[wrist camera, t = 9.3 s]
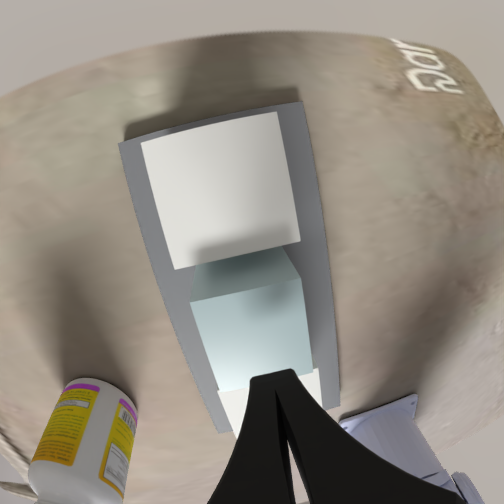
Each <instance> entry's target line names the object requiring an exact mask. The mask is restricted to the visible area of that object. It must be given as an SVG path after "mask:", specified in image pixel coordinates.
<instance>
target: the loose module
mask: <svg viewBox="0 0 504 504" xmlns="http://www.w3.org/2000/svg"><path fill="white" fill-rule="evenodd" d="M190 305H191V308H192V312H193V315H194V318H195V321H196V324H197V327H198V330H199V333H200V336H201V339H202V342H203V345H204V348H205V351H206V353H207V356H208V359H209V362H210V365H211V368H212V370H213V373H214V376H215V379H216V381H217V384H218V387H219V389H220V392H227V391H232V390H237V389H243V388H248V387H249V385H250V379H251V378H252V377H254V376H258V375H263V374H267V373H272V372H276V371H280V370H284V369H289V368H291V369H293V370H294V371H295V373H296V374H297V376H301V375H305V374H309V373H313V365H312V356H311V348H310V340H309V333H308V325H307V317H306V310H305V303H304V296H303V289H302V282H301V277H300V276H299V274H298V272H297V271H296V269H295V267H294V266H293V264H292V262H291V261H290V259H289V257H288V256H287V254H286V252H285V251H284V249H283V247H282V246H278V247H273V248H269V249H265V250H260V251H256V252H251V253H247V254H243V255H238V256H234V257H229V258H225V259H221V260H216V261H212V262H207V263H203V264H198V265H196V268H195V274H194V279H193V285H192V291H191V297H190Z"/></svg>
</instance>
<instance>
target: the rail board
mask: <svg viewBox="0 0 504 504" xmlns="http://www.w3.org/2000/svg"><path fill="white" fill-rule="evenodd" d="M118 146H119V150H120V154H121V159H122V163H123V167H124V171H125V175H126V179H127V183H128V187H129V191H130V194H131V198H132V202H133V205H134V209H135V213H136V216H137V220H138V223H139V227H140V230H141V233H142V237H143V240H144V243H145V246H146V250H147V253H148V256H149V259H150V262H151V265H152V268H153V272H154V275H155V278H156V281H157V283H158V286H159V289H160V292H161V295H162V298H163V301H164V304H165V306H166V309H167V312H168V315H169V317H170V320H171V323H172V325H173V328H174V331H175V333H176V336H177V339H178V341H179V344H180V346H181V349H182V351H183V354H184V356H185V359H186V361H187V364H188V366H189V369H190V371H191V373H192V376H193V378H194V381H195V383H196V385H197V388H198V390H199V392H200V394H201V397H202V399H203V401H204V403H205V406H206V408H207V410H208V412H209V415H210V417H211V419H212V421H213V423H214V425H215V427H216V430H217V432H218V433H225V432H231V431H234V434H235V436H236V438H238V436H239V433H240V429H241V426H242V422H243V418H244V414H245V411H246V406H247V401H248V395H249V387H248V388H243V389H237V390H232V391H227V392H220V389H219V387H218V384H217V381H216V379H215V376H214V373H213V370H212V368H211V365H210V362H209V359H208V356H207V353H206V351H205V348H204V345H203V342H202V339H201V336H200V333H199V330H198V327H197V324H196V321H195V318H194V315H193V312H192V308H191V305H190V297H191V291H192V285H193V279H194V274H195V268H196V265H198V264H203V263H207V262H212V261H216V260H221V259H225V258H229V257H234V256H238V255H243V254H247V253H251V252H256V251H260V250H265V249H269V248H273V247H278V246H282V247H283V249H284V251H285V252H286V254H287V256H288V257H289V259H290V261H291V262H292V264H293V266H294V267H295V269H296V271H297V272H298V274H299V276H300V277H301V282H302V289H303V296H304V303H305V310H306V317H307V325H308V333H309V340H310V348H311V356H312V365H313V373H309V374H305V375H301V376H298V378H299V379H300V381H301V382H302V384H303V385H304V387H305V388H306V389H307V391H308V392H309V393H310V394H311V396H312V397H313V398H314V399H315V400H316V402H317V403H318V404H319V405H320V406H321V407H322V408H323V409H324V410H328V409H331V408H335V407H338V406H340V387H339V369H338V354H337V340H336V328H335V316H334V306H333V295H332V286H331V277H330V268H329V260H328V252H327V244H326V236H325V229H324V222H323V215H322V208H321V201H320V195H319V189H318V183H317V177H316V171H315V165H314V159H313V154H312V148H311V143H310V137H309V132H308V127H307V122H306V117H305V112H304V107H303V103H302V101H300V102H293V103H286V104H280V105H273V106H267V107H261V108H256V109H250V110H245V111H240V112H235V113H230V114H225V115H221V116H216V117H212V118H207V119H203V120H199V121H194V122H190V123H186V124H183V125H179V126H175V127H171V128H167V129H164V130H160V131H157V132H153V133H150V134H146V135H143V136H140V137H136V138H133V139H130V140H127V141H124V142H121V143H118Z"/></svg>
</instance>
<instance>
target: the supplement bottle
mask: <svg viewBox="0 0 504 504" xmlns="http://www.w3.org/2000/svg"><path fill="white" fill-rule="evenodd" d="M137 420H138V416H137V411H136V408H135V406H134V404H133V403H132V401H131V400H130V399H129V397H128V396H127V395H126V394H124V393H123V392H122V391H121V390H119V389H118V388H116V387H115V386H113V385H111V384H109V383H107V382H104V381H101V380H98V379H94V378H79V379H75V380H73V381H71V382H70V383H68V384H67V386H66V387H65V388H64V390H63V392H62V394H61V396H60V398H59V400H58V402H57V404H56V406H55V408H54V411H53V413H52V415H51V417H50V419H49V422H48V424H47V426H46V428H45V431H44V433H43V435H42V438H41V440H40V442H39V445H38V447H37V450H36V452H35V454H34V457H33V459H32V461H31V464H30V467H29V470H28V480H29V483H30V485H31V487H32V489H33V490H34V492H35V493H36V494H37V495H38V500H37V502H35V503H34V504H123V499H124V492H125V486H126V480H127V474H128V468H129V463H130V458H131V453H132V447H133V443H134V438H135V433H136V427H137Z"/></svg>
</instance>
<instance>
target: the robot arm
mask: <svg viewBox="0 0 504 504" xmlns="http://www.w3.org/2000/svg"><path fill="white" fill-rule="evenodd" d="M417 401H418V396H417V394H412V395H410V396H407V397H405V398H402V399H400V400H397V401H395V402H392V403H389V404H387V405H384V406H381V407H379V408H376V409H373V410H370V411H367V412H365V413H362V414H359V415H356V416H353V417H350V418H346V419H343V420H341V421H340V422H339V424H338V423H337V422H336V421H334V420H333V419H332V418H331V417H330V416H329V415H328V414H327V412H326V411H325V410H324V409H323V408H322V407H321V406H320V405H319V404H318V403H317V402H316V400H315V399H314V398H313V397H312V396H311V394H310V393H309V392H308V391H307V389H306V388H305V387H304V385H303V384H302V382H301V381H300V379H299V378H298V376H297V374H296V373H295V371H294V370H293V369H291V368H289V369H284V370H280V371H276V372H272V373H267V374H263V375H258V376H254V377H252V378H251V379H250V385H249V395H248V401H247V406H246V411H245V414H244V418H243V422H242V426H241V429H240V433H239V436H238V438H237V441H236V444H235V447H234V450H233V453H232V455H231V458H230V460H229V462H228V465H227V467H226V469H225V471H224V473H223V475H222V477H221V479H220V481H219V483H218V485H217V487H216V489H215V491H214V492H213V494H212V496H211V498H210V499H209V501H208V503H207V504H296V502H295V496H294V490H293V481H292V473H291V465H290V457H289V449H288V443H289V445H290V448H291V451H292V454H293V457H294V459H295V462H296V465H297V468H298V470H299V473H300V476H301V478H302V481H303V484H304V487H305V489H306V492H307V495H308V498H309V502H310V504H485V503H484V502H483V500H482V498H481V496H480V495H479V493H478V491H477V489H476V488H475V486H474V485H473V483H472V482H471V480H470V479H469V477H468V476H467V475H466V474H465V473H459V472H455V473H454V474H452V475H451V476H452V478H453V480H454V482H455V484H454V483H453V481H452V479H451V478H450V476H449V474H448V473H447V471H446V470H445V469H443V467H442V466H441V464H440V462H439V461H438V459H437V457H436V456H435V454H434V452H433V451H432V449H431V447H430V446H429V444H428V443H427V441H426V439H425V438H424V436H423V434H422V433H421V431H420V430H419V428H418V427H417V425H416V423H415V422H414V420H413V419H414V415H415V410H416V406H417ZM287 440H288V441H287ZM455 485H456V486H455Z"/></svg>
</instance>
